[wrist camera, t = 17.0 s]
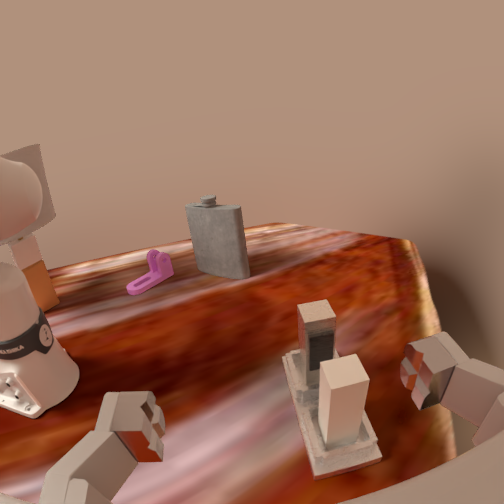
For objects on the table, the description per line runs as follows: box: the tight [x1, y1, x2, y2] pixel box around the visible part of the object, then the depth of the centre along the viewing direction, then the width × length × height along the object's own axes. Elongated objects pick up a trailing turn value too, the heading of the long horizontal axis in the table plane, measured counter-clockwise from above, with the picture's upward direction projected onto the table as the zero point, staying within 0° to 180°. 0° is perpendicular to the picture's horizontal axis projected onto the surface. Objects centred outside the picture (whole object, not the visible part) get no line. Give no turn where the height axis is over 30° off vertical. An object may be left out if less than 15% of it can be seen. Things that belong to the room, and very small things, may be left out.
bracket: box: [127, 249, 174, 295], centre depth 80 cm, size 13×6×7 cm, turn 142°
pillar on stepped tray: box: [282, 299, 382, 481], centre depth 38 cm, size 8×22×14 cm, turn 6°
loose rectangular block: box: [318, 354, 370, 449], centre depth 32 cm, size 4×5×12 cm
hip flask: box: [185, 195, 250, 279], centre depth 77 cm, size 16×4×20 cm, turn 58°
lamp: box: [0, 144, 60, 313], centre depth 66 cm, size 23×23×42 cm
